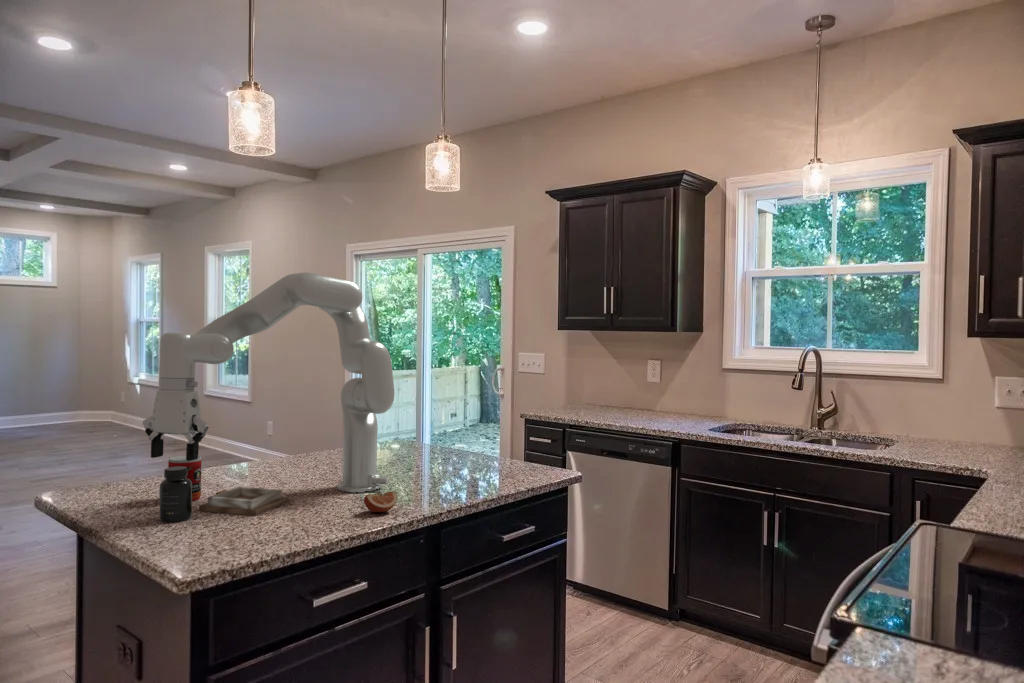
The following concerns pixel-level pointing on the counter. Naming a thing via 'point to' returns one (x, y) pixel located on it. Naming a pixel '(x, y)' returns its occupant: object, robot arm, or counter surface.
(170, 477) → the supplement bottle
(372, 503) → the fruit slice
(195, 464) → the canned food
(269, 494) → the pocket board
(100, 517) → the counter surface
